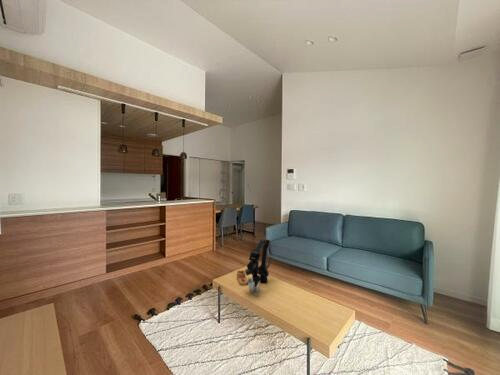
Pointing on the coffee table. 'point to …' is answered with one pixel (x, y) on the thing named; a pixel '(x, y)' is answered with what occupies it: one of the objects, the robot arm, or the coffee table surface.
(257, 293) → the mat
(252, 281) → the wood-topped grey block
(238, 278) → the bracket
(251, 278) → the vise
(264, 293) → the coffee table surface
